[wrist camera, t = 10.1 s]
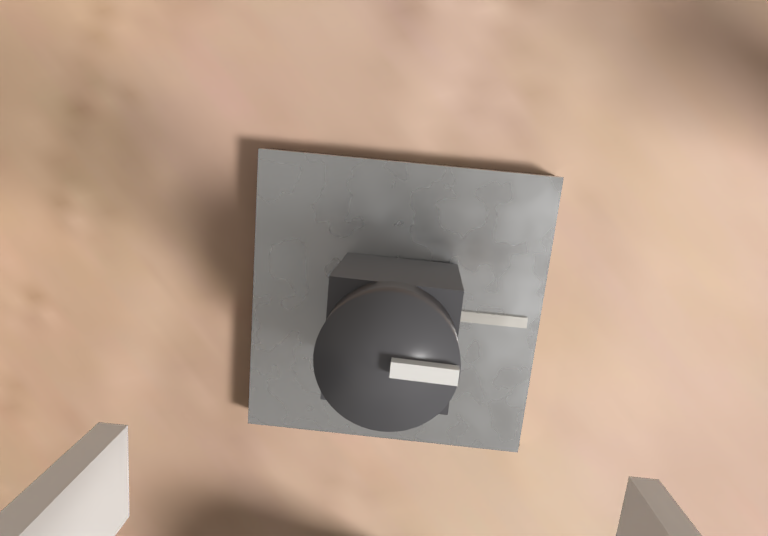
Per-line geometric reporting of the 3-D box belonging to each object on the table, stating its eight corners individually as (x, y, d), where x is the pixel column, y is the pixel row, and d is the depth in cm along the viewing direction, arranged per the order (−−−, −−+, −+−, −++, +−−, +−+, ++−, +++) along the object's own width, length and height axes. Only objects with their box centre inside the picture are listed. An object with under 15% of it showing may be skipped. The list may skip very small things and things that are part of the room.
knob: (337, 356, 30) (305, 428, 23) (345, 250, 29) (315, 288, 21) (446, 369, 30) (451, 446, 22) (459, 262, 29) (471, 305, 21)
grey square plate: (255, 410, 33) (218, 473, 27) (265, 148, 29) (226, 148, 23) (512, 438, 33) (537, 508, 26) (556, 175, 29) (596, 184, 23)
